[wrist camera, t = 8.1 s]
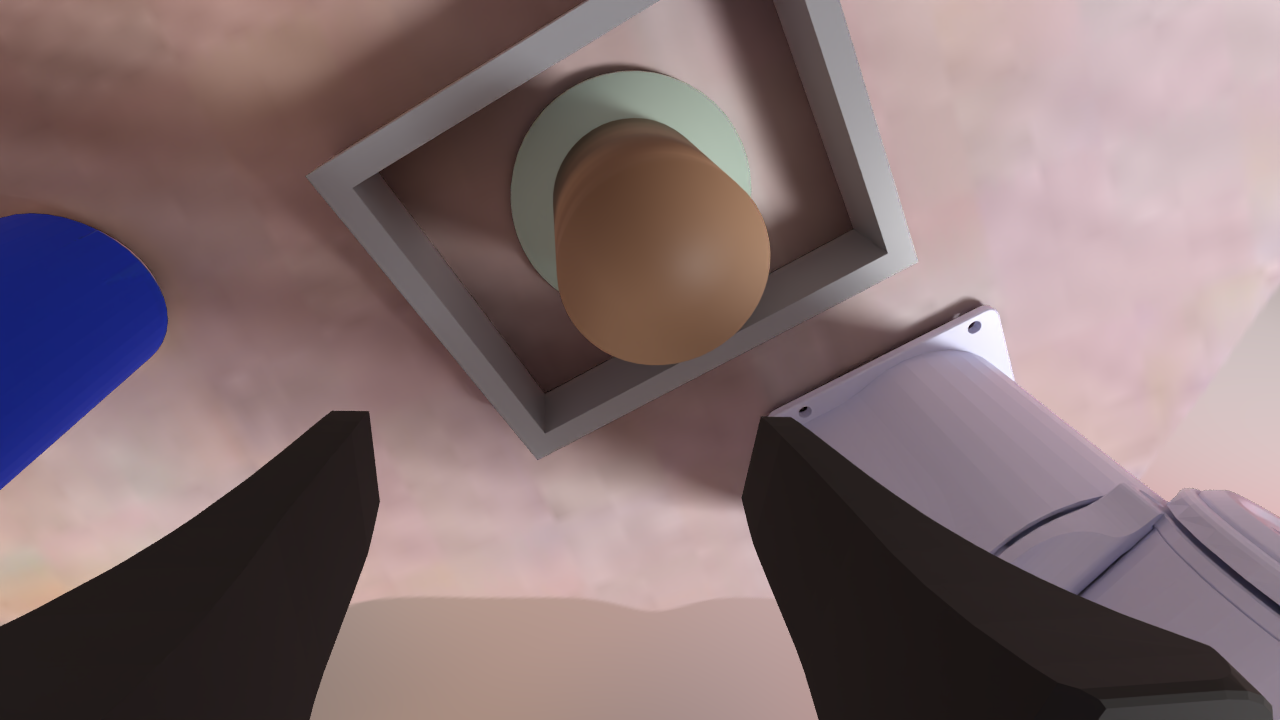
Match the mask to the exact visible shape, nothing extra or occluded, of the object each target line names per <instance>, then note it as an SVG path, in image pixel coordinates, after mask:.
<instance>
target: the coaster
mask: <svg viewBox="0 0 1280 720" xmlns="http://www.w3.org/2000/svg"><path fill="white" fill-rule="evenodd" d="M627 118H642V119H649V120H654V121H657V122H660V123H663V124H665V125H667V126H669V127H671V128H673V129H675V130H676V131H678V132H679V133H680V134H682V135H683V136H684V137H686V138H687V139H688V140H689V141H690V142H691V143H692V144H693V145H695V146H696V147H697V148H698V149H699V150H700V151H701V152H702V153H704V154H705V155H706V156H707V157H708V158H709V159H710V160H711V161H713V162H714V163H715V164H716V165H717V166H718V167H719V168H720V169H722V170H723V171H724V172H725V173H726V174H727V175H728V176H729V177H731V178H732V179H733V180H734V181H735V182H736V183H737V184H738V185H739V186H740V187H741V188H742V189H743V190H745V191H746V192H747V194H748V195H749V196H750V197H751V179H750V170H749V165H748V160H747V156H746V153H745V150H744V147H743V144H742V142H741V140H740V138H739V136H738V134H737V132H736V130H735V128H734V127H733V125H732V124H731V122H730V121H729V119H728V118H727V116H726V115H725V114H724V113H723V112H722V111H721V110H720V108H719V107H718V106H717V105H716V104H715V103H714V102H713V101H711V100H710V99H709V98H708V97H707V96H705V95H704V94H703V93H702V92H700V91H698V90H697V89H695V88H693V87H692V86H690V85H688V84H687V83H685V82H682V81H680V80H677V79H675V78H673V77H670V76H667V75H663V74H659V73H655V72H649V71H639V70H628V71H616V72H611V73H605V74H601V75H598V76H595V77H592V78H589V79H586V80H584V81H582V82H580V83H578V84H576V85H575V86H573V87H571V88H569V89H568V90H566V91H565V92H564V93H562V94H561V95H559V96H558V97H556V98H555V99H554V100H553V101H552V102H551V103H550V104H549V105H548V106H547V107H546V108H545V109H544V110H543V111H542V112H541V114H540V115H539V116H538V117H537V118H536V120H535V121H534V122H533V124H532V125H531V127H530V129H529V130H528V132H527V134H526V135H525V137H524V139H523V142H522V144H521V146H520V149H519V151H518V154H517V158H516V161H515V165H514V169H513V175H512V182H511V210H512V217H513V222H514V226H515V230H516V233H517V236H518V239H519V241H520V244H521V246H522V248H523V250H524V252H525V254H526V255H527V257H528V259H529V261H530V262H531V264H532V265H533V266H534V268H535V269H536V270H537V271H538V273H539V274H540V275H541V276H542V277H543V278H544V279H545V280H546V281H547V282H548V283H549V284H550V285H551V286H552V287H554V288H555V289H556V290H558V291H559V289H558V281H557V271H556V252H555V233H554V214H553V191H554V184H555V180H556V176H557V173H558V171H559V168H560V166H561V164H562V162H563V160H564V158H565V157H566V155H567V153H568V152H569V151H570V150H571V148H572V147H573V146H574V145H575V144H576V143H577V142H578V141H579V140H580V139H581V138H582V137H583V136H584V135H586V134H587V133H589V132H590V131H591V130H593V129H595V128H597V127H599V126H601V125H603V124H606V123H608V122H611V121H615V120H620V119H627Z"/></svg>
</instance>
